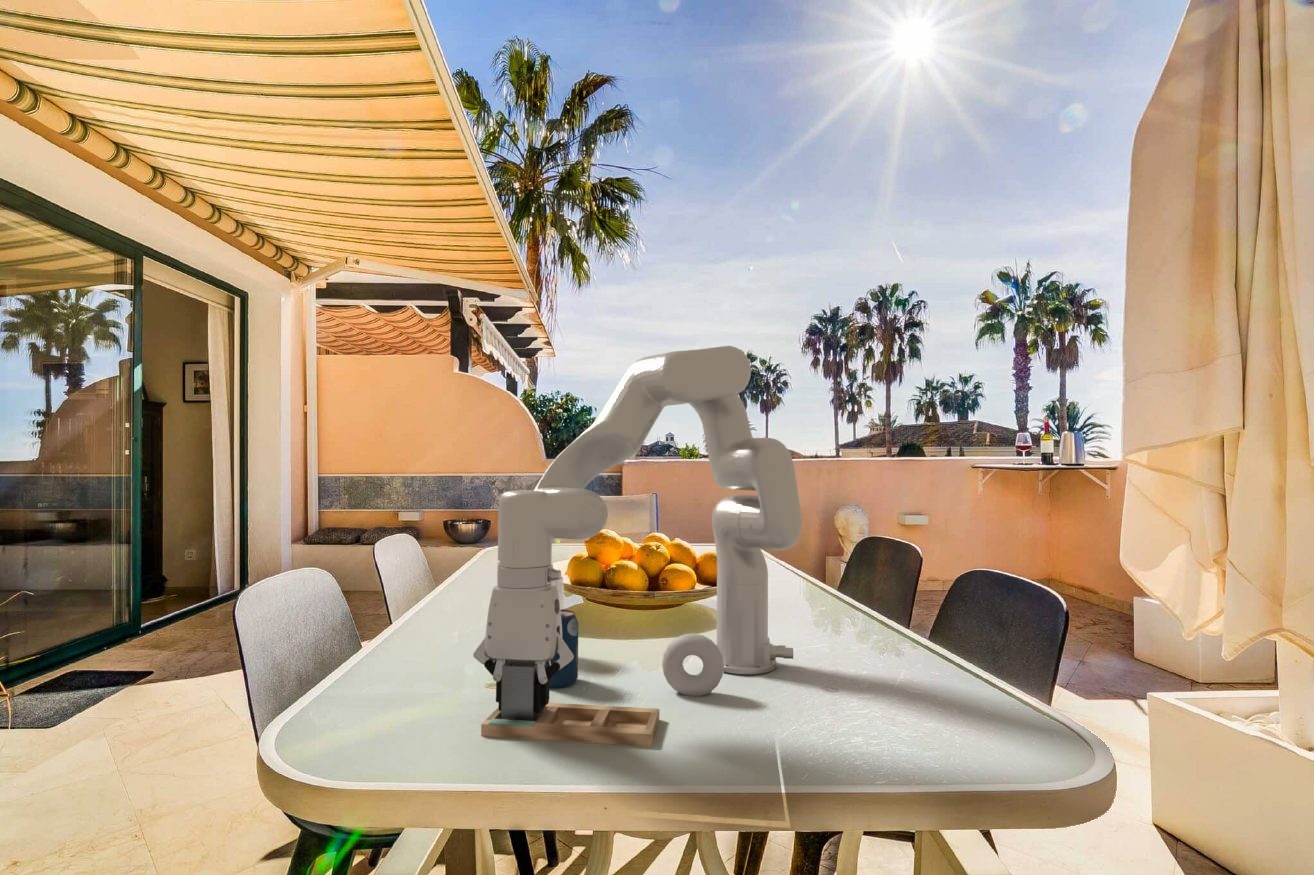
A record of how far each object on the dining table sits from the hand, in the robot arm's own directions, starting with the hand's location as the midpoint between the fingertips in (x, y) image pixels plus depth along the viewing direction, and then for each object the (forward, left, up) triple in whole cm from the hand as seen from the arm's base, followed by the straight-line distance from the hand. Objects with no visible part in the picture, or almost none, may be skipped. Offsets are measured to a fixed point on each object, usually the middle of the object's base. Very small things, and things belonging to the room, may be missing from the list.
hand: (522, 707), depth 90 cm
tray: (-7, 0, -3) cm, 8 cm away
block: (0, 0, -2) cm, 2 cm away
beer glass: (+7, -34, -3) cm, 35 cm away
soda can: (0, -18, -3) cm, 18 cm away
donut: (-23, -16, -3) cm, 28 cm away
